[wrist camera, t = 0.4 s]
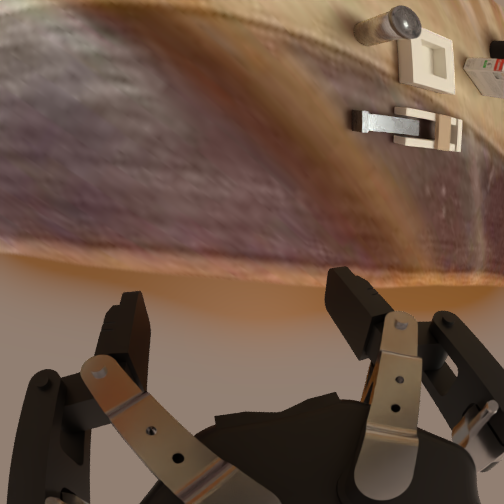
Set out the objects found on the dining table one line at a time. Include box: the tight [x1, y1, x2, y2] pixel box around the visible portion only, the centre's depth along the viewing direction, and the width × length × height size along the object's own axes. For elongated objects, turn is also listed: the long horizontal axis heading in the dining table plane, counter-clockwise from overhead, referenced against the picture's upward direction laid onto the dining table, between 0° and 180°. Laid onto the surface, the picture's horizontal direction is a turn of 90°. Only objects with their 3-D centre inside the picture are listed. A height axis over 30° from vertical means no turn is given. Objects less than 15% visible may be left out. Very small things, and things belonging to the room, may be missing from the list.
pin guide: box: [393, 107, 462, 152], centre depth 38 cm, size 6×14×4 cm, turn 92°
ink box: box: [463, 58, 504, 98], centre depth 30 cm, size 4×8×15 cm, turn 62°
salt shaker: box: [354, 6, 421, 46], centre depth 27 cm, size 5×5×10 cm
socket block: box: [397, 27, 455, 95], centre depth 33 cm, size 10×10×4 cm
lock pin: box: [352, 110, 419, 136], centre depth 37 cm, size 3×11×3 cm, turn 92°
